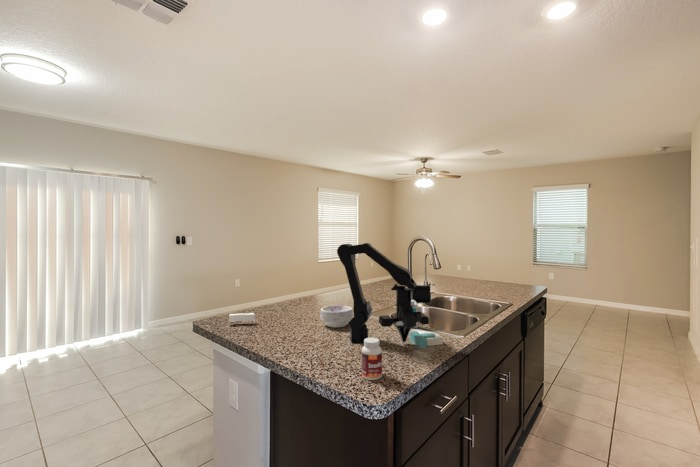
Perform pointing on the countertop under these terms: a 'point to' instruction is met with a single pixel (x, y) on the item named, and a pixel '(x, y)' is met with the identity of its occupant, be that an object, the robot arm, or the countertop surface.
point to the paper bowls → (336, 315)
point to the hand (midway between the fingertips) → (403, 342)
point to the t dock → (434, 340)
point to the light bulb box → (414, 310)
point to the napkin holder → (241, 317)
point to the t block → (420, 338)
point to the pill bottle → (371, 359)
